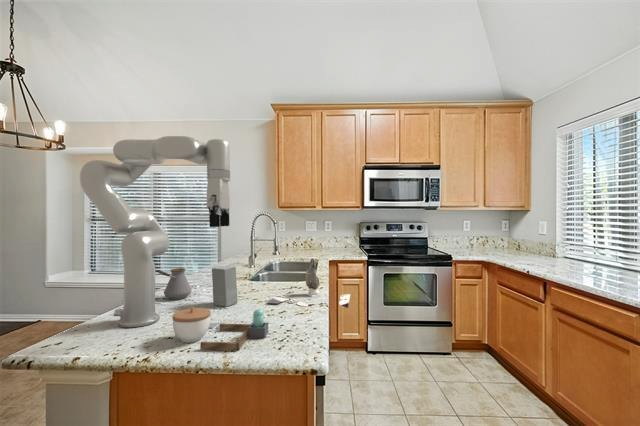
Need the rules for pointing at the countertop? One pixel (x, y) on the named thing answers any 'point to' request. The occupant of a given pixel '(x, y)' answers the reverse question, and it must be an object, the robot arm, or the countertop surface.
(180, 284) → the coffee pot
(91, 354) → the countertop surface
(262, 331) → the dark grey open box
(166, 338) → the countertop surface
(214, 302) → the skincare box
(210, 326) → the space tiles
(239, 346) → the walnut bay
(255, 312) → the dome
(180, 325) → the lidded jar
